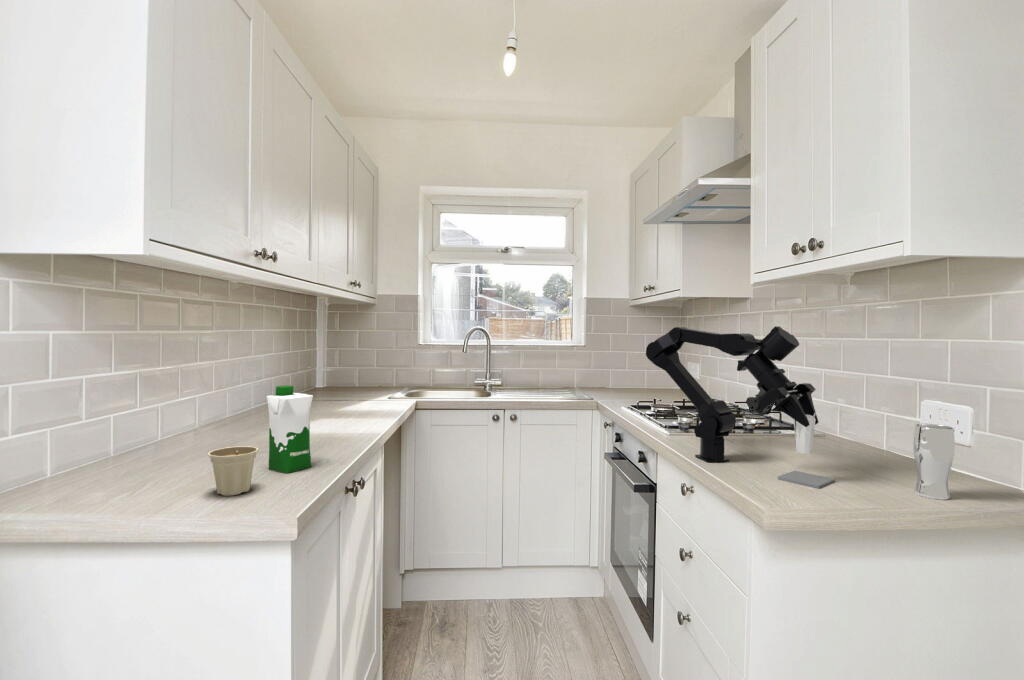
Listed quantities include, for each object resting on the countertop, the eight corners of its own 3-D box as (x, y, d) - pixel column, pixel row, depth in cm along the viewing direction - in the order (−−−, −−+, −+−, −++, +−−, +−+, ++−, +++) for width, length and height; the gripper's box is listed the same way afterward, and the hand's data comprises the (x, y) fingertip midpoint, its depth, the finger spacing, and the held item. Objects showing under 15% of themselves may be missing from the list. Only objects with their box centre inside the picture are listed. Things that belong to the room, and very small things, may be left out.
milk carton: (294, 461, 137) (294, 384, 136) (317, 467, 132) (317, 386, 132) (262, 469, 130) (262, 387, 129) (286, 475, 125) (286, 390, 124)
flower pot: (203, 490, 113) (203, 449, 113) (251, 482, 119) (251, 443, 119) (213, 501, 106) (213, 458, 106) (263, 492, 112) (263, 451, 112)
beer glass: (950, 494, 116) (953, 425, 116) (954, 502, 110) (957, 430, 110) (911, 488, 120) (913, 422, 120) (912, 496, 114) (915, 426, 114)
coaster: (777, 479, 126) (777, 476, 126) (794, 472, 132) (794, 470, 132) (818, 488, 119) (818, 485, 119) (834, 481, 125) (834, 478, 125)
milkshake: (805, 456, 122) (807, 413, 122) (788, 450, 127) (789, 409, 127) (822, 455, 123) (823, 412, 123) (803, 449, 129) (805, 408, 128)
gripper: (761, 391, 143) (803, 439, 135) (724, 396, 131) (767, 449, 123) (793, 363, 136) (839, 413, 128) (757, 366, 125) (805, 421, 116)
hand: (812, 424), depth 124 cm, fingers closed on milkshake, 4 cm apart
